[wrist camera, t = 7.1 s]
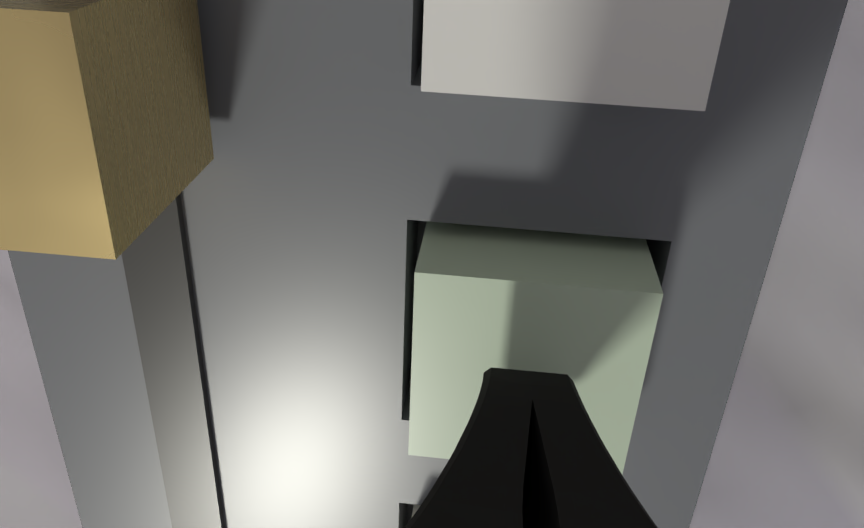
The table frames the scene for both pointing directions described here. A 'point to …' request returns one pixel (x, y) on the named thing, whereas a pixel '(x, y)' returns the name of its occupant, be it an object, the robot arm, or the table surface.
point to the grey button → (575, 50)
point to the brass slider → (97, 120)
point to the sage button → (529, 324)
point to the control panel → (397, 264)
